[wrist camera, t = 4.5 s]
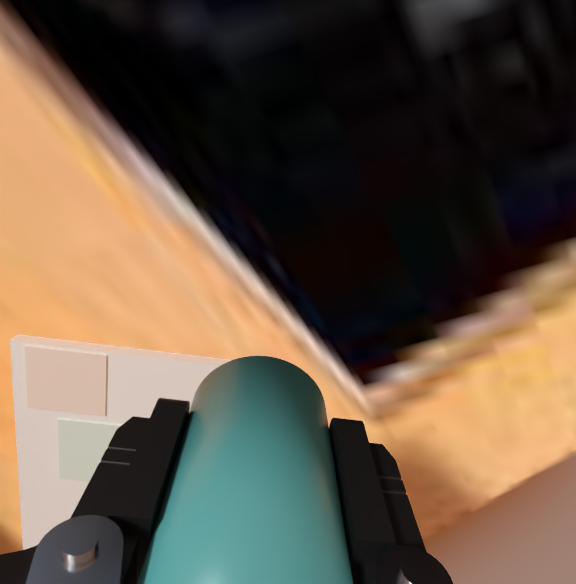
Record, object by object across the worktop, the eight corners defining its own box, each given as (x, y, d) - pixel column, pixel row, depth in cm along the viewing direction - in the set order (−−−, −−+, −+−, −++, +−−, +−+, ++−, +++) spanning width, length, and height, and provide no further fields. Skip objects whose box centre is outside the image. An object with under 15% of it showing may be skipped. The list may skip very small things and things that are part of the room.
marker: (339, 354, 12) (447, 783, 4) (315, 468, 14) (364, 953, 6) (195, 337, 12) (35, 757, 4) (185, 454, 13) (50, 941, 5)
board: (267, 363, 27) (267, 385, 25) (231, 593, 34) (228, 627, 31) (17, 333, 26) (-7, 354, 24) (31, 577, 33) (13, 611, 30)
